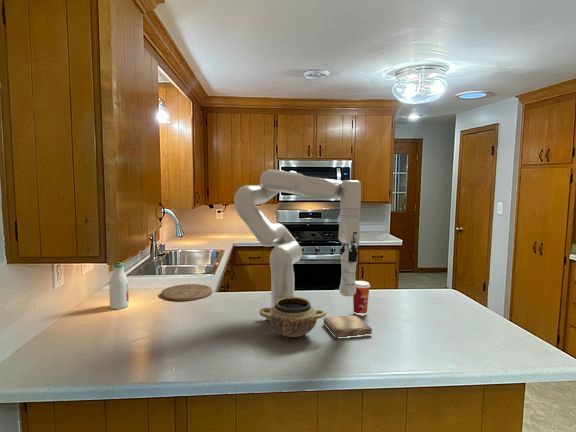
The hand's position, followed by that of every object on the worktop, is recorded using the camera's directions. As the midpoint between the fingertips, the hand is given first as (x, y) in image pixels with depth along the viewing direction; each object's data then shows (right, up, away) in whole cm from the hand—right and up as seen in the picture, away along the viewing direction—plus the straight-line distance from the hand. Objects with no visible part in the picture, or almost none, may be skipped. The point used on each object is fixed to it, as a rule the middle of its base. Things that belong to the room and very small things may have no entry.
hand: (348, 259), depth 139 cm
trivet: (-75, -24, +47) cm, 92 cm away
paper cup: (+9, -27, +21) cm, 35 cm away
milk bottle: (-100, -25, +26) cm, 106 cm away
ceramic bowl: (-22, -28, -4) cm, 36 cm away
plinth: (0, -28, +2) cm, 28 cm away
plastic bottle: (0, -14, +1) cm, 14 cm away
